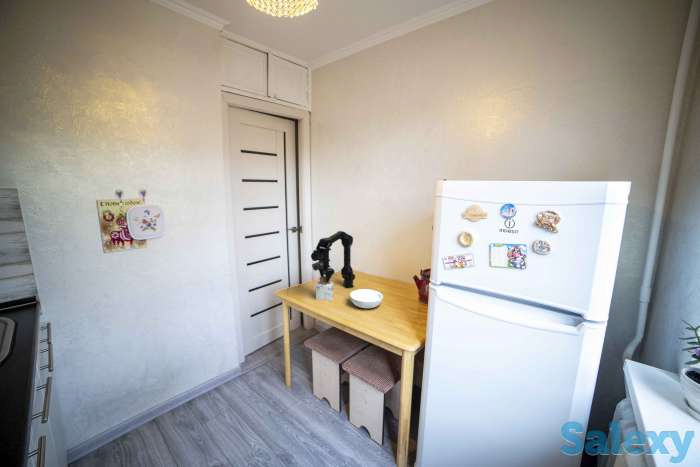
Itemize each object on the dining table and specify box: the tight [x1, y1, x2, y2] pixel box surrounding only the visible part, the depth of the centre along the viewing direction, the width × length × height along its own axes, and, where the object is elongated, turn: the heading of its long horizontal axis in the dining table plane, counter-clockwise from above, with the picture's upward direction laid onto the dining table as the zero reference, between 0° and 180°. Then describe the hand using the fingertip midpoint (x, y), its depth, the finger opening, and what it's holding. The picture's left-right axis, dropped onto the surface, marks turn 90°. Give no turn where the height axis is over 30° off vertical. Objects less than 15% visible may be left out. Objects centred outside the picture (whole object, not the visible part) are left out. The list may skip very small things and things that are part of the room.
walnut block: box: [319, 275, 331, 285], centre depth 183 cm, size 5×5×4 cm
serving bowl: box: [349, 288, 384, 309], centre depth 176 cm, size 21×21×7 cm
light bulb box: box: [315, 280, 334, 301], centre depth 184 cm, size 11×7×11 cm, turn 84°
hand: (324, 280), depth 183 cm, fingers open, 9 cm apart
